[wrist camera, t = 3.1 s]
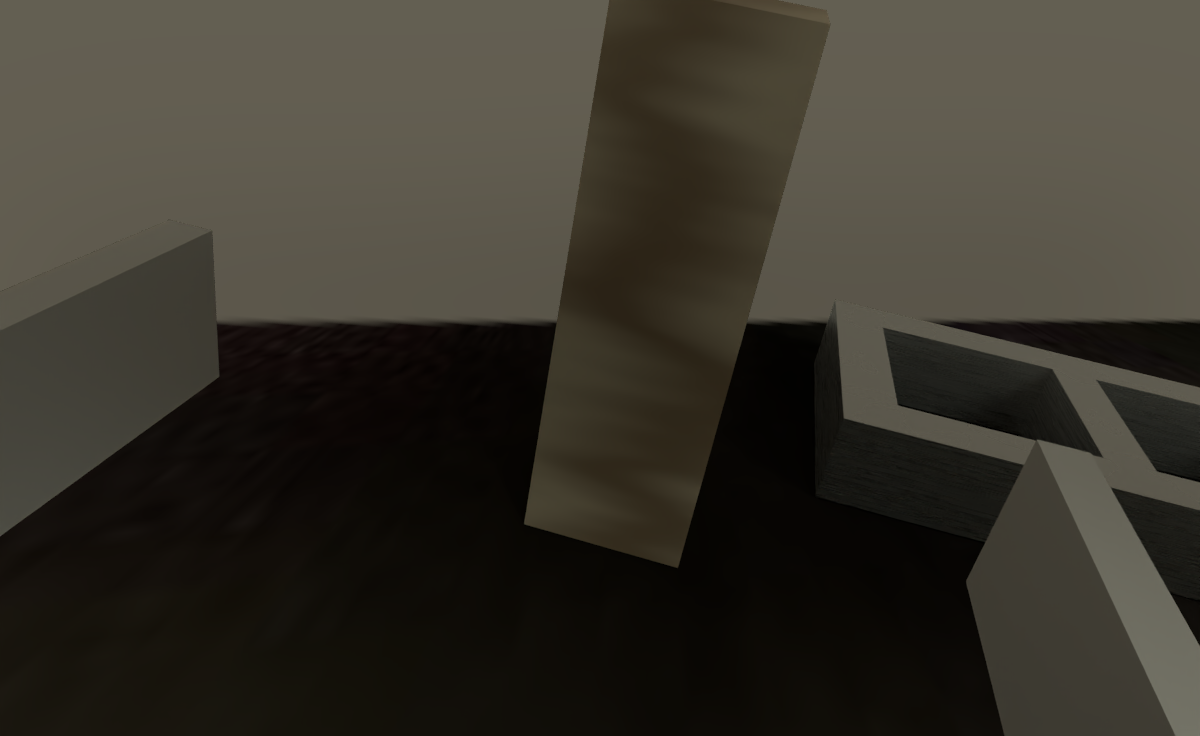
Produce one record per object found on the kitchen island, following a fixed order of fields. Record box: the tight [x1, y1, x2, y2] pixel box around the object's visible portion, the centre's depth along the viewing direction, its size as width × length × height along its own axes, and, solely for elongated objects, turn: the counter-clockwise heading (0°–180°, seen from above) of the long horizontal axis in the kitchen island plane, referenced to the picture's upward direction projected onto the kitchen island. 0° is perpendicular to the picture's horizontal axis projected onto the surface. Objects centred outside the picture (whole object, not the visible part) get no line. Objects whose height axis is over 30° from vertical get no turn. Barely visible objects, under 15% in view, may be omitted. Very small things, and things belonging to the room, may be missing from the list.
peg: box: [524, 0, 830, 568], centre depth 22 cm, size 4×4×14 cm
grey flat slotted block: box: [814, 300, 1200, 601], centre depth 29 cm, size 26×10×3 cm, turn 77°
